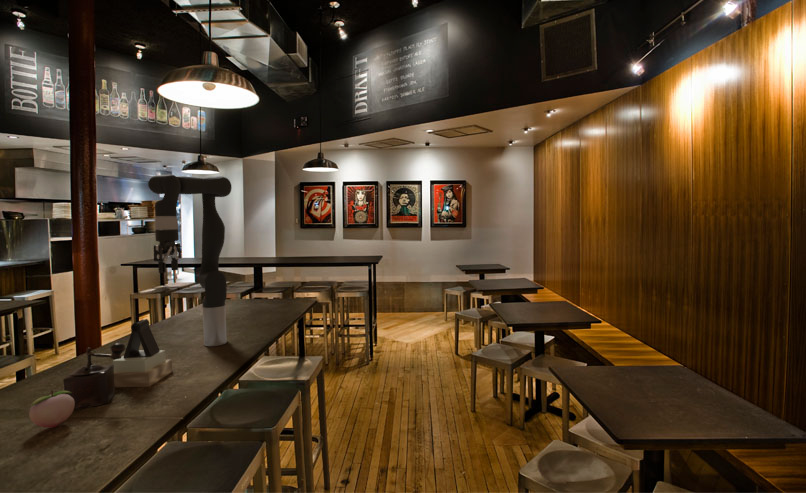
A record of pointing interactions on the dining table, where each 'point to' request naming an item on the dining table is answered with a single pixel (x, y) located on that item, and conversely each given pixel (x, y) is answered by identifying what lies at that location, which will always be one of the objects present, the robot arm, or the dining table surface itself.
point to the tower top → (139, 363)
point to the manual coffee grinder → (93, 380)
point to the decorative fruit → (52, 409)
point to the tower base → (143, 376)
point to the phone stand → (141, 341)
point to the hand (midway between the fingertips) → (168, 271)
